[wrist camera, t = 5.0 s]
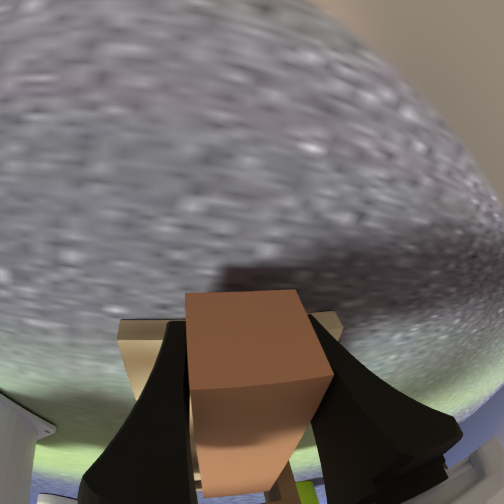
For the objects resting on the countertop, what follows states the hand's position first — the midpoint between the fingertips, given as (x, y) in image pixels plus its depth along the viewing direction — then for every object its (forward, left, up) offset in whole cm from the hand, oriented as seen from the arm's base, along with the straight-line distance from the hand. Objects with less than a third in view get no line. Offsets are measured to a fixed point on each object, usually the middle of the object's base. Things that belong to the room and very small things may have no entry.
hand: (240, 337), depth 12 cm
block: (-3, -4, -1) cm, 5 cm away
